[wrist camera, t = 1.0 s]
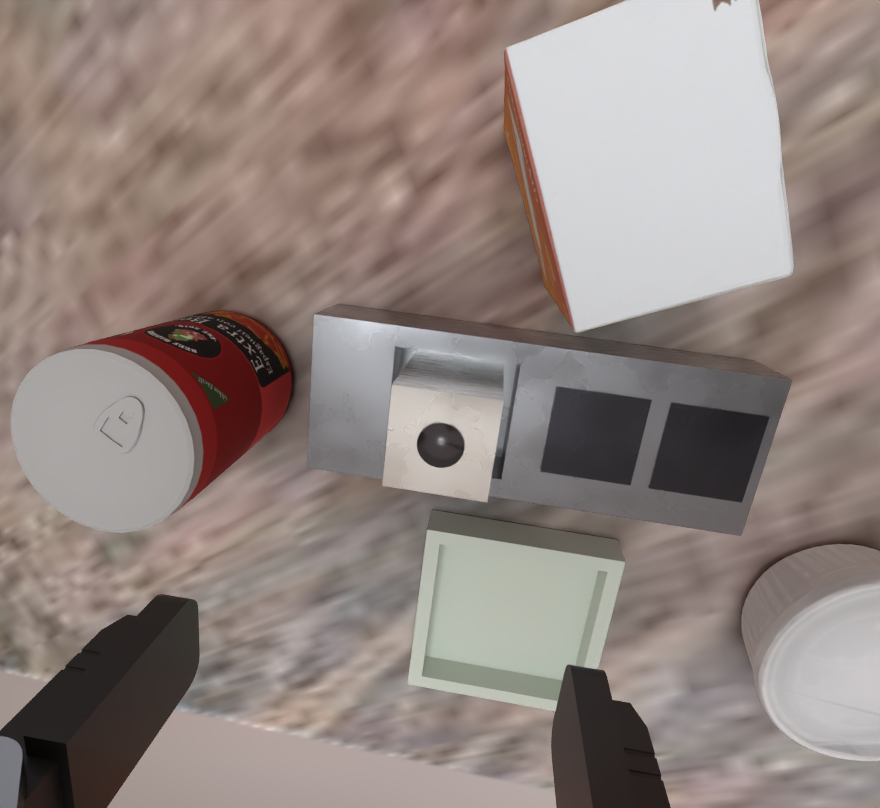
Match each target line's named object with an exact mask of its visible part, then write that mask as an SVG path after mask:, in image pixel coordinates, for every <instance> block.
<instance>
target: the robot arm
mask: <svg viewBox="0 0 880 808" xmlns="http://www.w3.org/2000/svg"><path fill="white" fill-rule="evenodd" d="M198 664H199V623H198V605H197V602H196V601H195V600H193V599H187V598H181V597H175V596H169V595H164V594H160V595H158V596H156V597H155V598H154V599H153V600H152V601H151V602H150V603H149V604H148V605H147V606H146V607H145V608H144V609H143V610H142V611H141V612H140V613H139V614H138V615H137V616H132V615H126V616H125V617H123V618H121V619H119V620H118V621H116V622H114V623H113V624H111V625H109V626H107V627H106V628H104V629H102V630H101V631H100V632H99V633H98V634H97V635H96V636H95V637H94V638H93V639H92V640H91V641H90V642H89V643H88V644H87V645H86V646H85V647H84V648H83V649H82V652H81V653H78V654H77V655H76V656H75V657H74V658H73V659H72V660H71V661H70V662H69V663H68V664H67V665H66V667H65V669H64V670H61V671H60V672H59V673H58V674H57V675H56V676H55V677H54V678H53V679H52V680H51V681H50V682H49V683H48V684H47V685H46V686H45V687H44V688H43V689H42V690H41V691H40V692H39V693H38V694H37V695H36V696H35V697H34V698H33V699H32V700H31V701H30V702H29V703H28V704H27V705H26V706H25V707H24V708H23V709H22V710H21V711H20V712H19V713H18V714H17V715H16V716H15V717H14V718H13V719H12V720H11V721H10V722H8V723H7V724H6V725H5V726H4V727H3V728H2V729H1V731H0V808H107V806H108V805H109V803H110V802H111V801H112V799H113V798H114V796H115V795H116V793H117V792H118V791H119V789H120V788H121V786H122V785H123V783H124V782H125V780H126V779H127V777H128V776H129V775H130V773H131V772H132V770H133V769H134V767H135V766H136V764H137V763H138V761H139V760H140V758H141V757H142V756H143V754H144V753H145V751H146V750H147V748H148V747H149V745H150V744H151V742H152V741H153V740H154V738H155V737H156V735H157V734H158V732H159V730H160V729H161V728H162V726H163V725H164V723H165V722H166V721H167V719H168V718H169V716H170V715H171V713H172V712H173V710H174V709H175V708H176V706H177V705H178V703H179V702H180V700H181V699H182V697H183V696H184V694H185V693H186V691H187V690H188V689H189V687H190V685H191V683H192V681H193V679H194V677H195V674H196V671H197V668H198ZM551 750H552V763H553V774H554V784H555V795H556V805H557V808H671V807H670V804H669V801H668V797H667V794H666V790H665V787H664V783H663V781H661V773H660V770H659V766H658V763H657V759H656V758H655V756H654V755H655V753H654V749H653V746H652V742H651V739H650V735H649V732H648V729H647V726H646V725H645V724H644V722H643V721H642V719H641V718H640V716H639V715H638V714H637V712H636V711H635V709H634V708H633V707H632V705H631V704H630V703H627V702H621V701H615V700H612V697H611V693H610V688H609V684H608V680H607V676H606V673H605V672H604V671H603V670H598V669H592V668H586V667H581V666H575V665H569V664H568V665H567V666H566V668H565V672H564V676H563V680H562V685H561V689H560V694H559V698H558V702H557V707H556V711H555V716H554V720H553V727H552V741H551Z"/></svg>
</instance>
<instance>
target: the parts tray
mask: <svg viewBox="0 0 880 808" xmlns="http://www.w3.org/2000/svg"><path fill="white" fill-rule="evenodd" d="M624 566H625V559H624V556H623V554H622V551H621V548H620V546H619V543H618V540H616V539H610V538H604V537H597V536H591V535H585V534H579V533H573V532H566V531H560V530H554V529H548V528H541V527H535V526H529V525H523V524H517V523H510V522H504V521H498V520H492V519H485V518H479V517H473V516H467V515H461V514H454V513H448V512H442V511H436V510H432V513H431V517H430V520H429V524H428V528H427V535H426V543H425V551H424V559H423V566H422V574H421V582H420V590H419V598H418V606H417V614H416V622H415V630H414V638H413V646H412V654H411V661H410V669H409V677H408V684H410V685H415V686H420V687H426V688H431V689H437V690H442V691H448V692H453V693H459V694H464V695H470V696H475V697H480V698H486V699H491V700H497V701H502V702H508V703H513V704H519V705H524V706H529V707H535V708H540V709H546V710H551V711H556V707H557V702H558V698H559V694H560V689H561V685H562V680H563V676H564V672H565V668H566V666H567V665H568V664H569V665H575V666H581V667H586V668H592V669H598V666H599V663H600V659H601V655H602V651H603V647H604V643H605V639H606V636H607V632H608V628H609V624H610V620H611V616H612V612H613V609H614V605H615V601H616V597H617V593H618V589H619V585H620V582H621V578H622V574H623V570H624Z"/></svg>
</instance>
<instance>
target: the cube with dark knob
mask: <svg viewBox="0 0 880 808" xmlns="http://www.w3.org/2000/svg"><path fill="white" fill-rule="evenodd" d="M503 403H504V362H499V361H492V360H485V359H478V358H471V357H464V356H457V355H450V354H442V353H435V352H428V351H421V350H417V351H416V352H415V354H414V355H413V357H412V358H411V359H410V361H409V362H408V363H407V365H406V366H405V367H404V369H403V370H402V371H401V373H400V374H399V376H398V377H397V378H396V380H395V381H394V382H393V384H392V388H391V399H390V409H389V420H388V430H387V441H386V452H385V462H384V473H383V483H382V486H387V487H394V488H400V489H406V490H412V491H419V492H425V493H431V494H438V495H444V496H450V497H457V498H463V499H469V500H475V501H482V502H487V501H488V495H489V489H490V483H491V477H492V471H493V464H494V458H495V452H496V446H497V440H498V434H499V427H500V421H501V415H502V409H503Z"/></svg>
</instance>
